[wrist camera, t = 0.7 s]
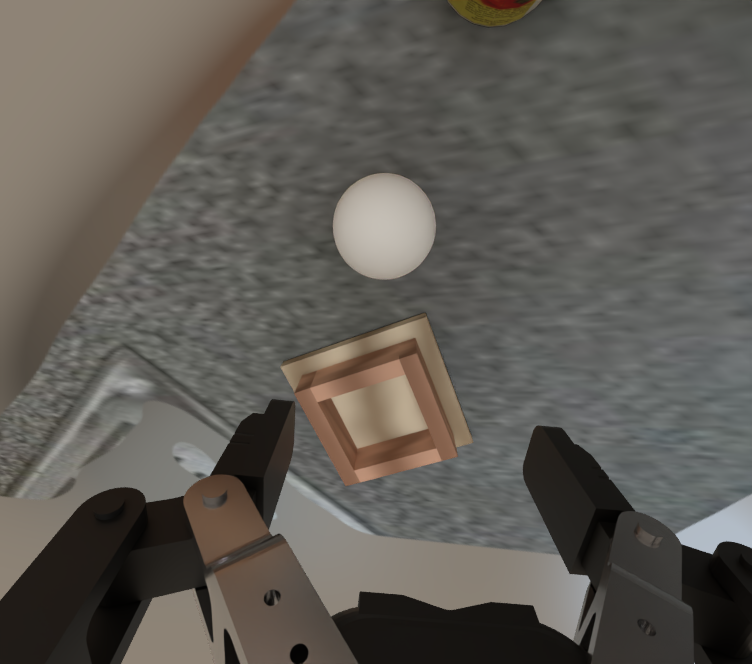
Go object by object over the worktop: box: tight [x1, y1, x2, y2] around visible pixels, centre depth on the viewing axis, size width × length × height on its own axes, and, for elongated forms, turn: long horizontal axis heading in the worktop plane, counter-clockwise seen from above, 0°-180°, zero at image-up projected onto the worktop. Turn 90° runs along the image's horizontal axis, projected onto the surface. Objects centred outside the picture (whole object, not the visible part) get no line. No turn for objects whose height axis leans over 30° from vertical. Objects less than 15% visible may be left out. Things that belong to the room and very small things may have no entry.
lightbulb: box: [333, 173, 436, 280], centre depth 25 cm, size 6×6×11 cm
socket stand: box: [281, 313, 473, 486], centre depth 36 cm, size 14×14×4 cm
